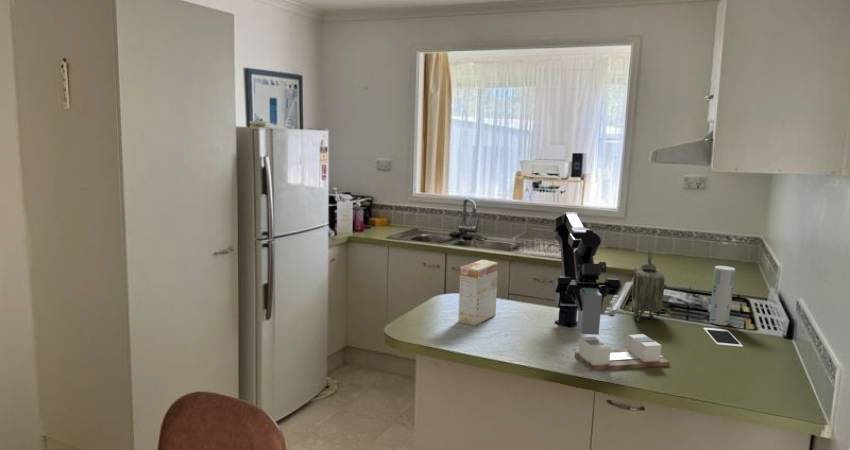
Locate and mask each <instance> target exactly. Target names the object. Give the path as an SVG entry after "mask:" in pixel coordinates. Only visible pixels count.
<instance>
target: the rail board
mask: <svg viewBox="0 0 850 450" xmlns="http://www.w3.org/2000/svg"><path fill="white" fill-rule="evenodd" d="M574 356H575V357H576V358H577V360H579V361H580V362H582V364H584V365H585V366H586V367H588V368H589V369H590V370H591V371H592V370H593V371H594V372H596V371H611V370H613V371H614V370H626V369H628V370H629V369H642V368H654V367H655V368H656V367H670V364H671V361H669V360H667V359H666V358H664V356H663V355H661V354H660V361H652V362H644V361H642V360H641V359H640V358H639V357H638V356H636V355H635V354H633V353H632V352H629V351H628V350H627V348H621V349H618V348H617V349H611V351H610V363H609V364H605V365H592V364H591V363H590V361H589V360H587V359H586V358H585V357H584V356H582V355H580V354H579V353H578V351H575V352H574Z"/></svg>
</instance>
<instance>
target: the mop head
mask: <svg viewBox="0 0 850 450" xmlns="http://www.w3.org/2000/svg"><path fill="white" fill-rule="evenodd" d="M652 253H653V252H652V250H651V249H649V250H648V255H647V257H648V258H647V262H644V263H643V264H641V266H639V267H638V266H636V267H634V270H633V278H632V280H633V281H632V284H633V285H632V292H631V306H632V310H633V312H634V313H639V315H638V317H636V319H635V320H636V322H641V320H642V319H641V317H642V315H643V314H644V313H645V312H648V313H649V314H648V318H649V319H650V320H653V318H654V314H652V313H658V312H660V311H662V309H663V304H664V303H663V301H664V293H665V291H664V290H665V275H664V273H663V272H662V271H660V270H659V269H657V266H656V265H655V263H654V262H652V259H653V254H652Z"/></svg>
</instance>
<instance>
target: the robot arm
mask: <svg viewBox="0 0 850 450" xmlns="http://www.w3.org/2000/svg"><path fill="white" fill-rule="evenodd" d="M579 217H580V216H579V213H577V212H567V211H565V212H563V213H562V215H559V216H558V217H556V218H554V221H553V223H552V232H553V233H554V238H555V239H556V241H557V242H558V243H559V247H560V259H561V272H562V276H558V277H557V278H556V281H555V284H554V292H555V293H556V296H555V301H554V302H555V305H556V307H557V308H559V310H558V319H557V320H554V323H556V324H559V325H561V326H564V327H568V328H572V327H575V326H577V321H578V308H579V310H580V311H582V302H581V297H580V289H597V290H598V291H599V292H600V294H601V295H602V302H601V308H603V303H604V298H607V296H608V295H609V296H610V295H611V296H615V295H617V294H618V292H619V291H620V289H621V287H622V283H621V280H620V279H619V278H610V277H609V278H608V277H607V278H606V279H605V280H604V282H599V281H597V280H599V279H600V276H601V274H606V273H607V268H608V267H607V263H606V261H599V262H598V263H595V261H594V256H596V255H597V253H598V250H599V247H600V245H601V243H602V239H601V238H600V236H599V235H598V234H597V233H595V232H594V230H593V229H590V228H586V227H584V225H583V224H582V221H581V220H580V218H579ZM574 249H575V250H574Z"/></svg>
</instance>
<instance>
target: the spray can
mask: <svg viewBox="0 0 850 450" xmlns="http://www.w3.org/2000/svg"><path fill="white" fill-rule="evenodd" d="M735 277H736V268H735V267H733V266H728V265H727V266H726V265H715V266H714V271H713V281H712V289H711V290H712V292H711V300H710V308H709V309H710V310H709V317H708V319H709V320H708V321H709V323H711V324H714V325H719V326H727V325H729V322H730V315H731V307H732V301H733V291H734V283H735Z"/></svg>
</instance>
